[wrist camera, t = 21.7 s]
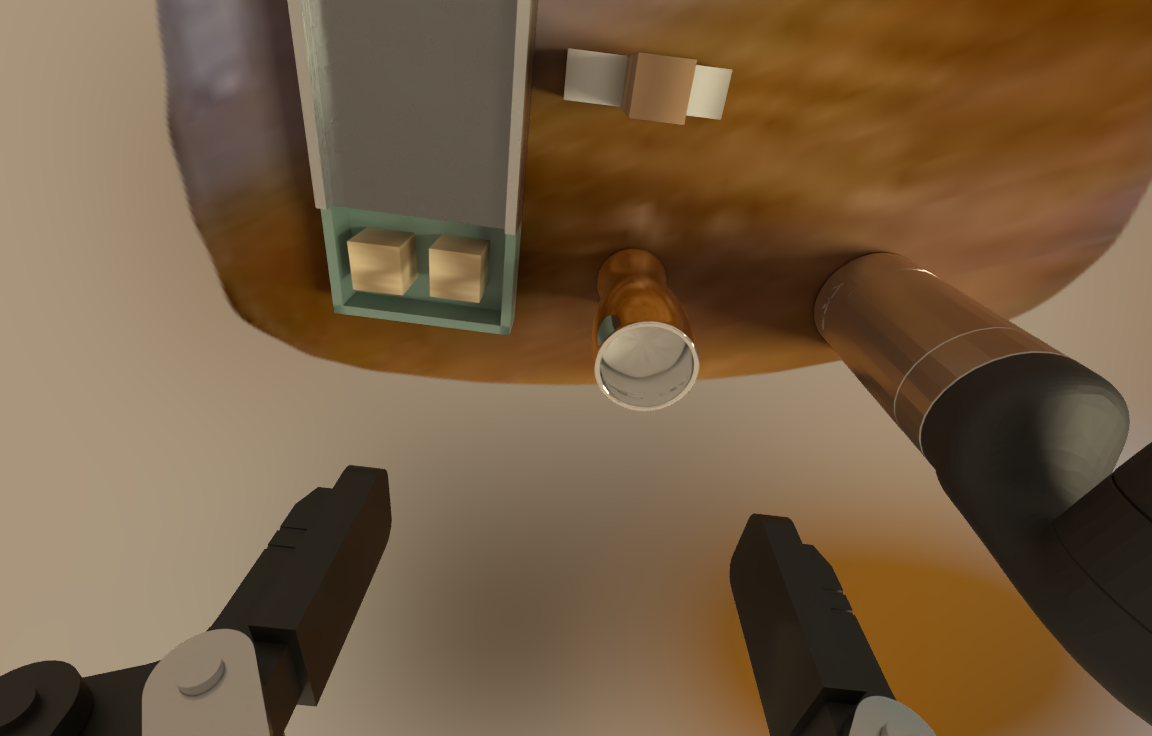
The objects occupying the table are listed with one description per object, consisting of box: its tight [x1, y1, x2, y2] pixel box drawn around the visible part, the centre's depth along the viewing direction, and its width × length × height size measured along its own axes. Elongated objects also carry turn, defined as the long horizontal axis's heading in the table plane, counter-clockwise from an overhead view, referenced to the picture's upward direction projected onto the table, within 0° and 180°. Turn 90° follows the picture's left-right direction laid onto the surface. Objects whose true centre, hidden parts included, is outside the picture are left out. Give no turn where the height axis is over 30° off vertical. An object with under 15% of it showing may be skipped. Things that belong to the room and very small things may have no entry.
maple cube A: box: [429, 234, 490, 303], centre depth 41 cm, size 4×4×4 cm
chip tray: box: [321, 206, 522, 335], centre depth 42 cm, size 15×9×4 cm, turn 83°
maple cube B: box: [347, 227, 418, 295], centre depth 41 cm, size 4×4×4 cm
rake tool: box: [564, 48, 732, 125], centre depth 31 cm, size 11×3×12 cm, turn 84°
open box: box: [287, 0, 538, 235], centre depth 36 cm, size 15×15×4 cm
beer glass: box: [591, 249, 699, 411], centre depth 38 cm, size 7×7×15 cm
